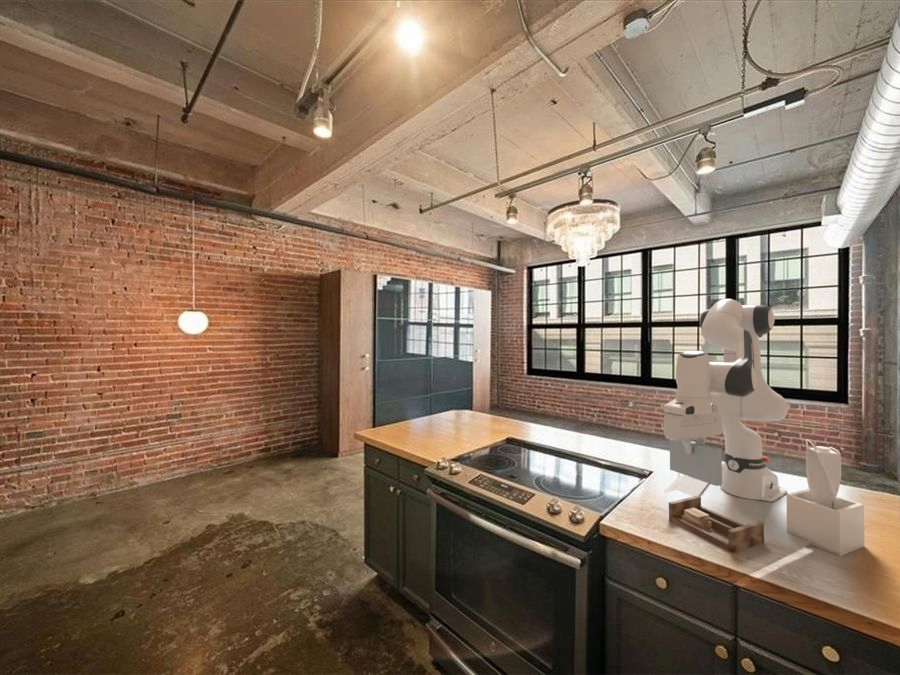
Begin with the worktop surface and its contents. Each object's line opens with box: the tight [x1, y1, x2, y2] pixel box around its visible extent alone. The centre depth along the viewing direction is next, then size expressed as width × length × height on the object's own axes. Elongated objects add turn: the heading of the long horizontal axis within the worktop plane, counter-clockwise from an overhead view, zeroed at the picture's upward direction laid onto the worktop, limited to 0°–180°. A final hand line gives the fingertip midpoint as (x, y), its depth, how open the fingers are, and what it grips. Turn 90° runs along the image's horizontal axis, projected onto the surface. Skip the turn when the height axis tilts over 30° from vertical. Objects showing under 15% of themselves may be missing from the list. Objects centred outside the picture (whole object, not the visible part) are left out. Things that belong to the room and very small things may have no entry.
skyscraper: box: [805, 438, 842, 510], centre depth 108 cm, size 8×8×28 cm
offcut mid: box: [681, 515, 712, 531], centre depth 115 cm, size 4×6×2 cm
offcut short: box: [684, 508, 709, 524], centre depth 115 cm, size 4×5×2 cm
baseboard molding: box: [662, 474, 710, 497], centre depth 143 cm, size 31×3×12 cm
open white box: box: [785, 488, 865, 557], centre depth 108 cm, size 12×12×12 cm
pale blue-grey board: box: [669, 439, 723, 487], centre depth 109 cm, size 2×14×10 cm, turn 20°
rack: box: [668, 495, 765, 554], centre depth 112 cm, size 13×19×7 cm
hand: (694, 452), depth 109 cm, fingers closed on pale blue-grey board, 2 cm apart
